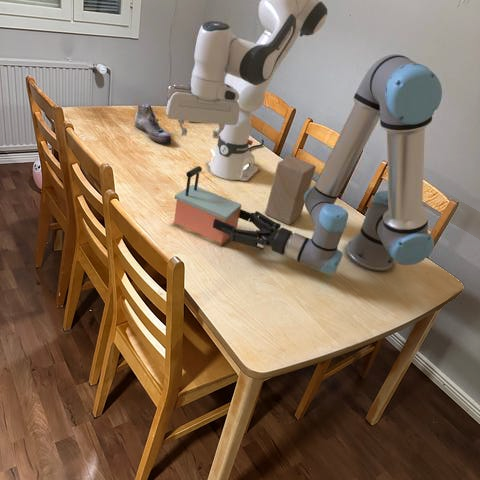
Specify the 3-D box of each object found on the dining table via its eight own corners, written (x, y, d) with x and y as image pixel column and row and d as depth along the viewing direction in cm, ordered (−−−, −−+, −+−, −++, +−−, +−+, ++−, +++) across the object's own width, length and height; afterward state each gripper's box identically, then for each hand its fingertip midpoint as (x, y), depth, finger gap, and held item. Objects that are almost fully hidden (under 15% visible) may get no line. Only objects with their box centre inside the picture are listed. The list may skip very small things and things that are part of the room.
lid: (174, 198, 134) (177, 171, 129) (192, 187, 142) (195, 161, 137) (225, 220, 129) (231, 192, 124) (241, 207, 137) (246, 181, 132)
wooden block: (289, 225, 152) (304, 173, 141) (264, 214, 155) (277, 162, 145) (301, 216, 159) (316, 165, 149) (277, 205, 163) (290, 155, 152)
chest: (173, 225, 138) (176, 199, 133) (190, 213, 146) (194, 188, 142) (220, 246, 133) (225, 220, 129) (235, 232, 142) (241, 207, 137)
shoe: (175, 145, 192) (178, 118, 185) (151, 146, 186) (153, 118, 180) (154, 124, 209) (157, 98, 202) (132, 124, 203) (133, 97, 197)
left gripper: (169, 86, 113) (164, 137, 121) (244, 95, 120) (235, 143, 127) (166, 79, 118) (162, 128, 126) (239, 88, 125) (230, 135, 132)
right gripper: (271, 272, 122) (202, 241, 128) (298, 238, 140) (236, 213, 146) (277, 250, 118) (206, 219, 124) (304, 218, 136) (240, 193, 142)
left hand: (199, 136), depth 127 cm, fingers open, 8 cm apart
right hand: (222, 216), depth 135 cm, fingers closed on chest, 10 cm apart
